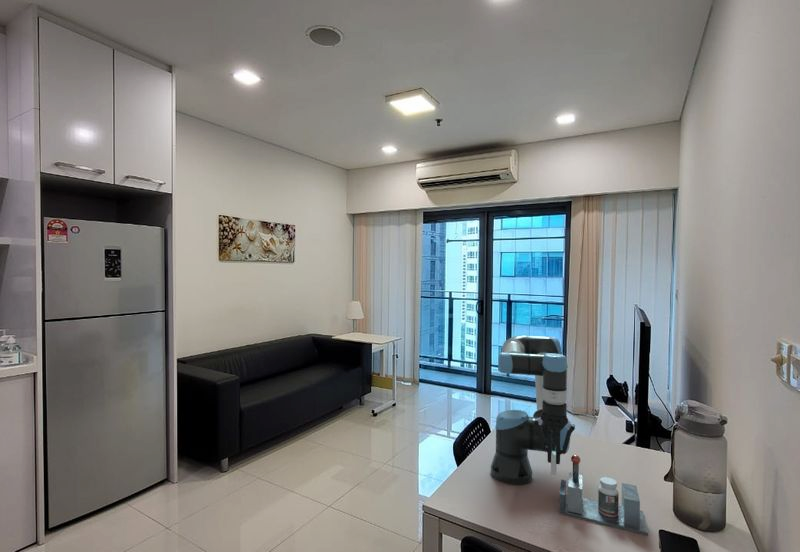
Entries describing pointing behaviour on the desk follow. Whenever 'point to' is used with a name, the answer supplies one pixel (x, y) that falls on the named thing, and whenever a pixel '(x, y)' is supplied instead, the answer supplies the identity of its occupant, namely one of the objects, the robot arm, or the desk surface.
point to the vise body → (626, 519)
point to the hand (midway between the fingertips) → (553, 472)
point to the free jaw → (575, 487)
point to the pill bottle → (608, 497)
